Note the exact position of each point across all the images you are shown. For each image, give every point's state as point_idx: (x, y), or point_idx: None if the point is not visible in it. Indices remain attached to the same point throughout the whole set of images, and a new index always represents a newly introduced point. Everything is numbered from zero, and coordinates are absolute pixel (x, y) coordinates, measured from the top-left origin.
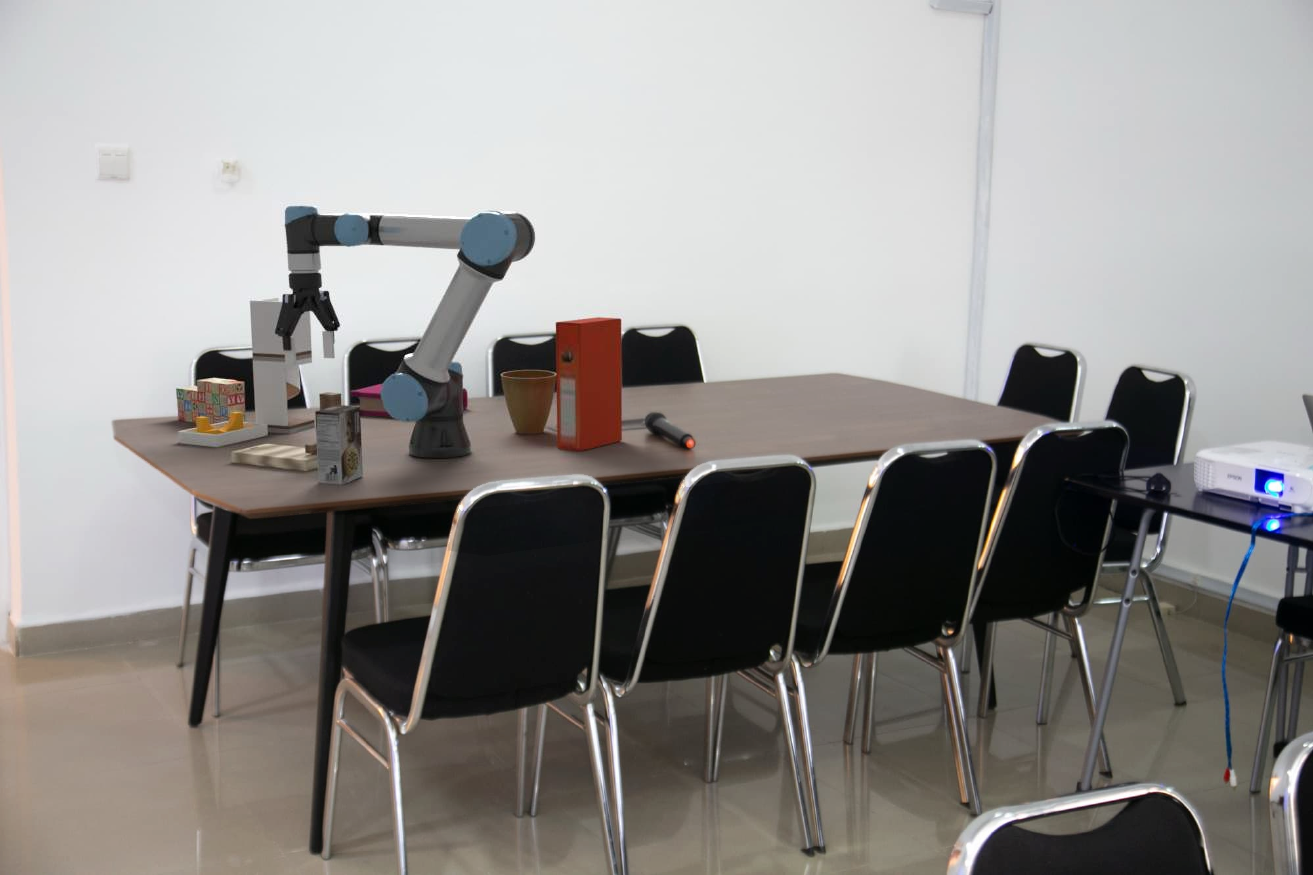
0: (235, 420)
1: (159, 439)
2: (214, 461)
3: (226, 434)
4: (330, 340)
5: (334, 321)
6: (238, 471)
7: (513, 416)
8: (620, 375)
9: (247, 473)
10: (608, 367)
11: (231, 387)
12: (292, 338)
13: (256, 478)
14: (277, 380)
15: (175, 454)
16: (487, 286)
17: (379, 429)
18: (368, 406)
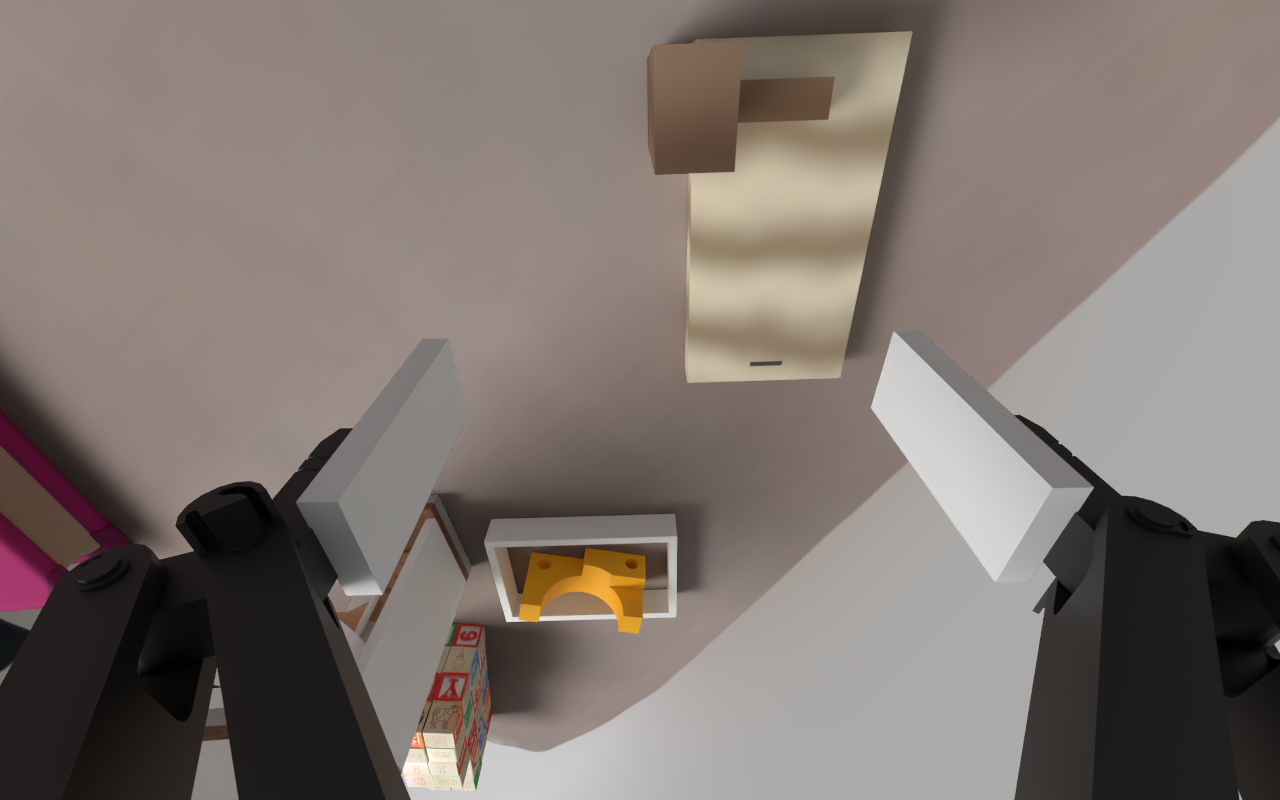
0: (546, 590)
1: (661, 635)
2: (831, 407)
3: (639, 534)
4: (390, 442)
5: (132, 638)
6: (946, 256)
7: None
8: None
9: (971, 208)
10: None
11: (438, 721)
12: (1077, 476)
13: (1049, 117)
14: (390, 651)
15: (785, 525)
16: None
17: (182, 343)
18: (63, 531)
